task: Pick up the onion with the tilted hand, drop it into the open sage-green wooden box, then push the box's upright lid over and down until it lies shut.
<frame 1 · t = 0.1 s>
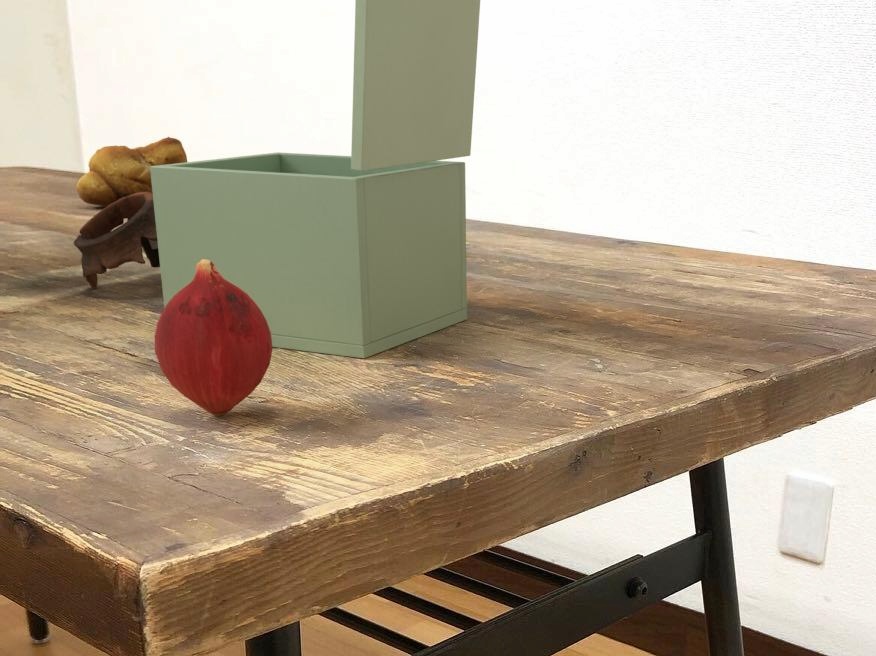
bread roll: (133, 206, 149), on the table
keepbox: (321, 326, 85), on the table
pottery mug: (153, 287, 100), on the table
onion: (220, 418, 65), on the table
lid: (421, 22, 75), point 19 cm above the table, hinge at 95.0°
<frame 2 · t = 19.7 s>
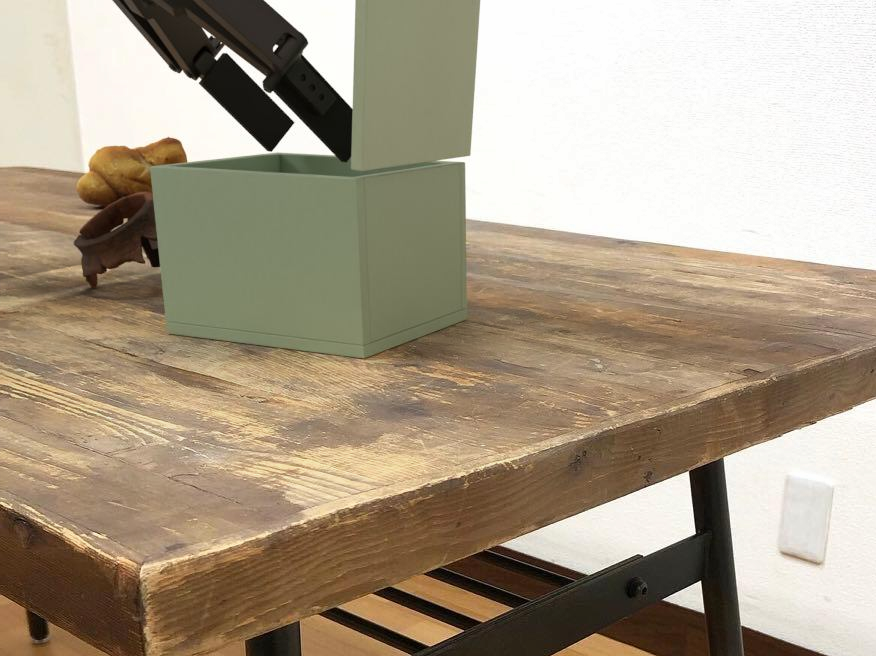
hand: (316, 141, 83), 12 cm above the table, tool tilted 45°, fingers open, 11 cm apart
onion: (295, 267, 84), point 4 cm above the table
everything else where it was.
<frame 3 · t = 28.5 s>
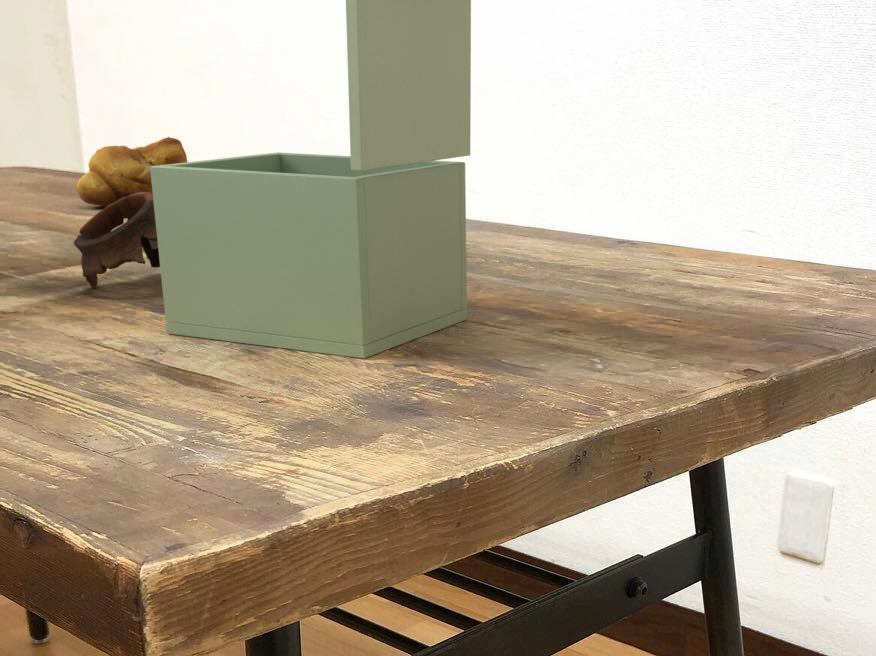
onion: (294, 267, 83), point 4 cm above the table, touching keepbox
lid: (413, 22, 75), point 19 cm above the table, hinge at 90.9°, touching gripper
everything else where it was.
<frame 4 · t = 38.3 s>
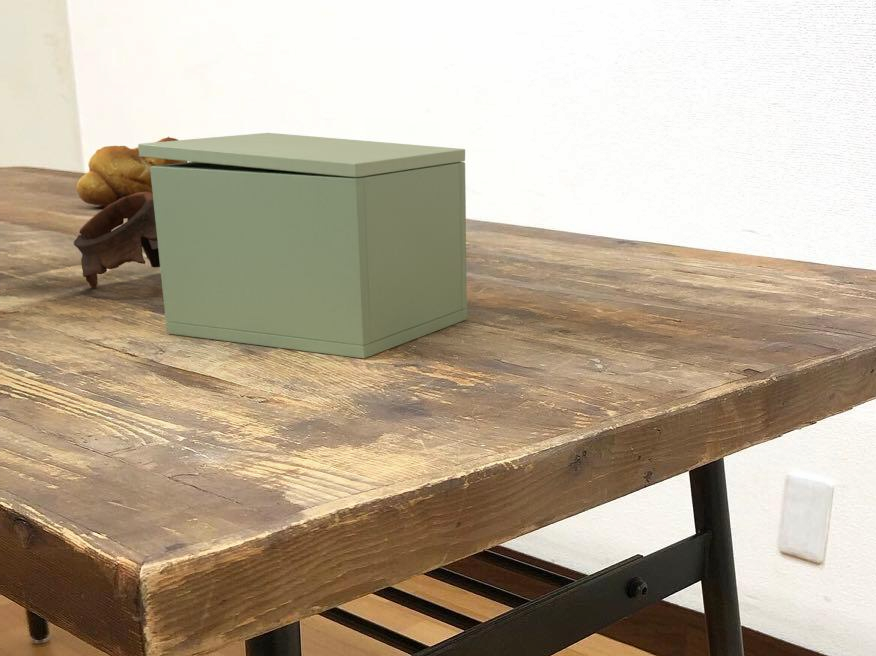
lid: (307, 152, 81), point 11 cm above the table, hinge at 1.7°
everything else where it was.
at the end: onion inside the target area in the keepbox (1.7 cm from its centre), point 4.1 cm above the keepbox's base; lid at +2° (first picture: +95°) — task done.
